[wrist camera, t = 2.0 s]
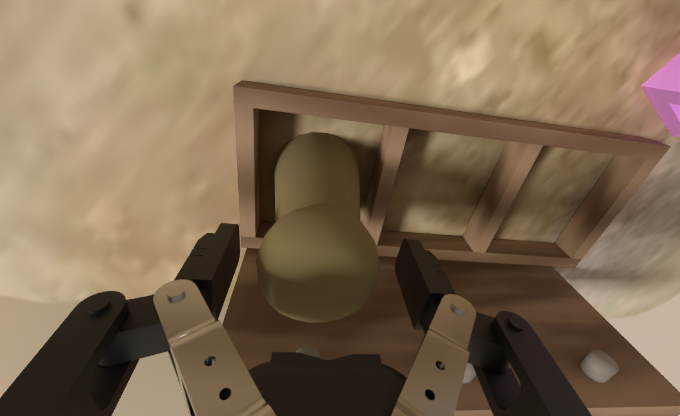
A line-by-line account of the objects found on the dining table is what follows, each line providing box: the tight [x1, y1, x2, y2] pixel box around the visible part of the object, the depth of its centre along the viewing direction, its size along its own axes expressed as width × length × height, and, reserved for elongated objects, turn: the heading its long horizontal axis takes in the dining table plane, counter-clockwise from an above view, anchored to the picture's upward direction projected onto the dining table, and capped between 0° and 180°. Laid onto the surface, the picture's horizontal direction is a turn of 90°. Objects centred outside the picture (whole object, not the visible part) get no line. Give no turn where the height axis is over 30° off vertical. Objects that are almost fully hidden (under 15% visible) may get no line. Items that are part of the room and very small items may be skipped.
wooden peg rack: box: [222, 81, 680, 416], centre depth 17 cm, size 14×28×12 cm, turn 82°
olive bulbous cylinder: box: [256, 132, 380, 322], centre depth 15 cm, size 6×6×11 cm
